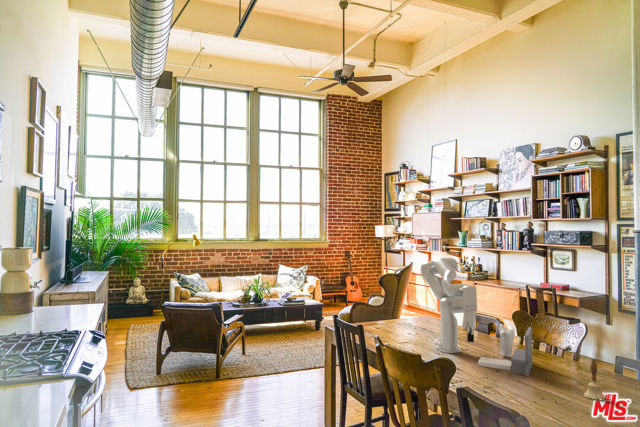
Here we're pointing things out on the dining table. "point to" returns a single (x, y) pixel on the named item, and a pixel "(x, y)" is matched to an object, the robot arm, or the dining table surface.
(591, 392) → the hand bell
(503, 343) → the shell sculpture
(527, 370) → the gray l-shaped bracket
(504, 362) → the ceramic tile
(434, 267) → the robot arm
